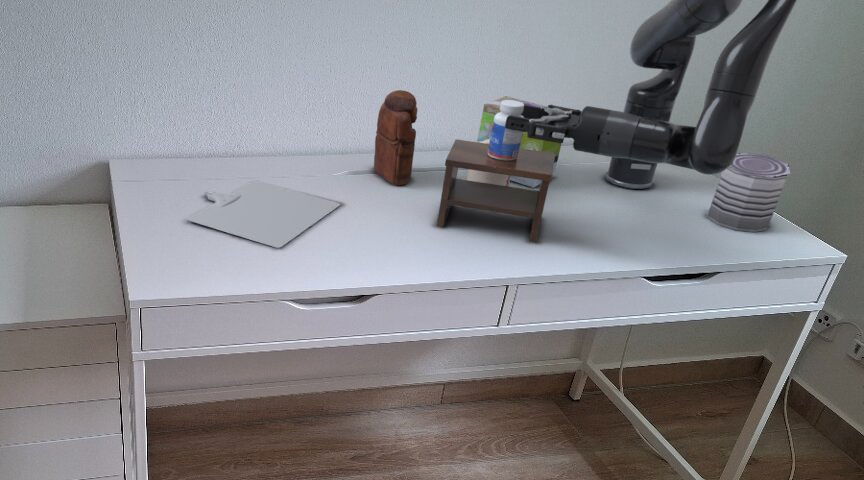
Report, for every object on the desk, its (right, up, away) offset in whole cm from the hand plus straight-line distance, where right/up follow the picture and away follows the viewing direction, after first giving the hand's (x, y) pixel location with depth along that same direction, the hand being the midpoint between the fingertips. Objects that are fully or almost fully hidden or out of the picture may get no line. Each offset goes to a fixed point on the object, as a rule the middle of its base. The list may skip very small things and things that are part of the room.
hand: (512, 115), depth 153 cm
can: (+49, -16, +17) cm, 55 cm away
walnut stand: (-1, -17, +11) cm, 21 cm away
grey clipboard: (-45, -15, +11) cm, 49 cm away
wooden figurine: (-17, -5, +30) cm, 35 cm away
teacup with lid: (+1, -9, +26) cm, 28 cm away
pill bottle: (-1, -7, +4) cm, 8 cm away
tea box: (+10, -4, +35) cm, 37 cm away
